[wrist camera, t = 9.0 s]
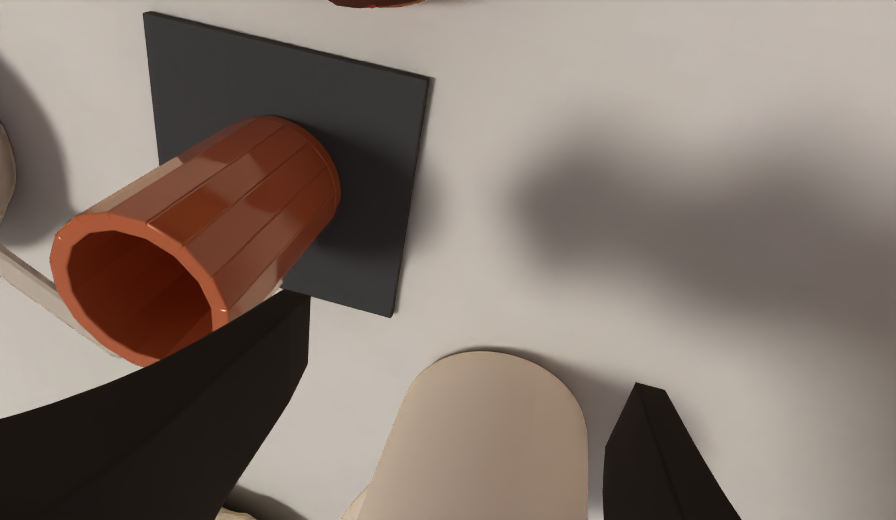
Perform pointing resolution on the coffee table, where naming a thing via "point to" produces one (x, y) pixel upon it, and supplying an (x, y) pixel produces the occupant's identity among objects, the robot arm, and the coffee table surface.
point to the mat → (324, 116)
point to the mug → (482, 446)
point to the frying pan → (16, 270)
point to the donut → (374, 3)
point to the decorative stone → (232, 515)
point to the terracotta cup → (196, 238)
